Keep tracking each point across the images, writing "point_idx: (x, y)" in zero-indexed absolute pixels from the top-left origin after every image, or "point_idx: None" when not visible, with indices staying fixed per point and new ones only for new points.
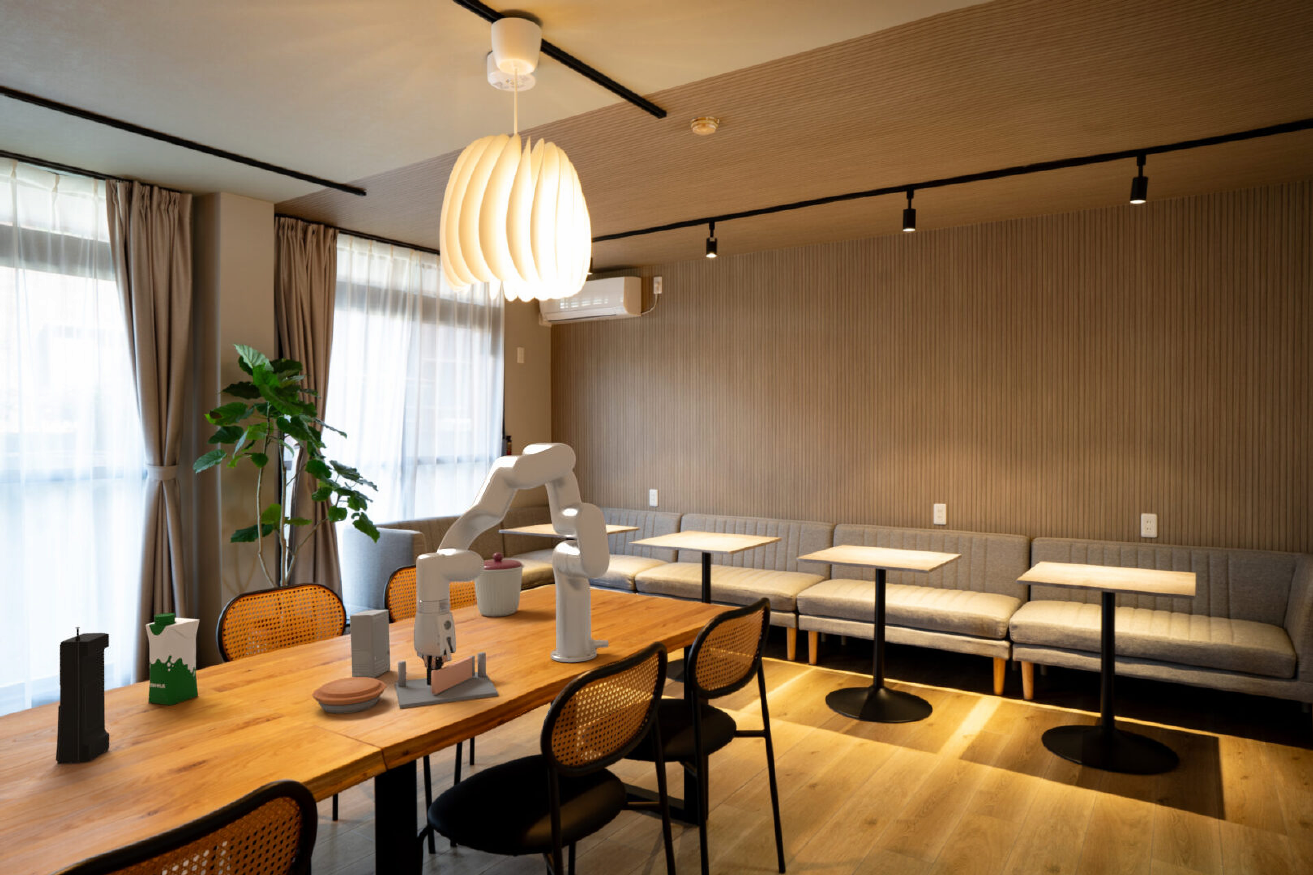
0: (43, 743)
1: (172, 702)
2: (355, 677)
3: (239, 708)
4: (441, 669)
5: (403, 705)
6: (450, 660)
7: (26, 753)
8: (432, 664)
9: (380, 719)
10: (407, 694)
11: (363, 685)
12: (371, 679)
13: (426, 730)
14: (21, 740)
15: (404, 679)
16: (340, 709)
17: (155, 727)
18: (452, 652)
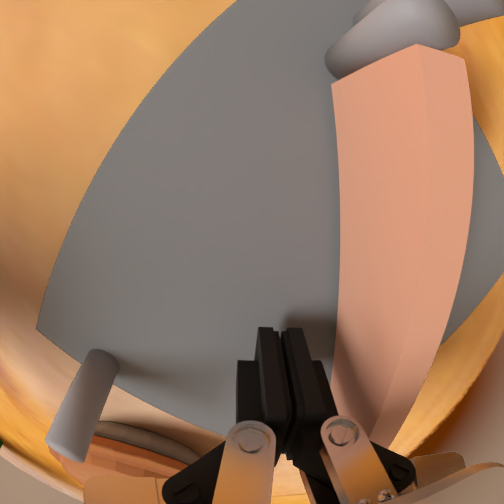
0: (63, 491)
1: (1, 443)
2: (67, 461)
3: (44, 456)
4: (379, 442)
5: None
6: (453, 456)
7: (80, 500)
8: (313, 481)
9: (294, 472)
10: (224, 416)
11: None
12: (121, 476)
13: (414, 444)
14: (49, 485)
15: (108, 388)
16: None
17: (68, 484)
18: (474, 472)
